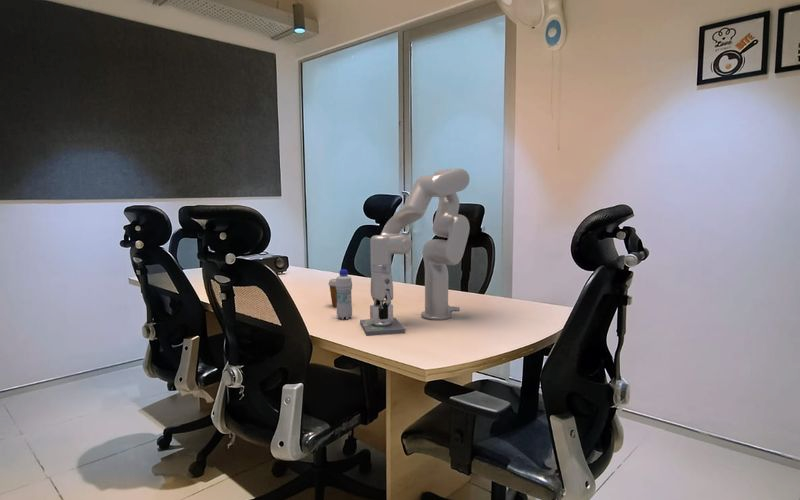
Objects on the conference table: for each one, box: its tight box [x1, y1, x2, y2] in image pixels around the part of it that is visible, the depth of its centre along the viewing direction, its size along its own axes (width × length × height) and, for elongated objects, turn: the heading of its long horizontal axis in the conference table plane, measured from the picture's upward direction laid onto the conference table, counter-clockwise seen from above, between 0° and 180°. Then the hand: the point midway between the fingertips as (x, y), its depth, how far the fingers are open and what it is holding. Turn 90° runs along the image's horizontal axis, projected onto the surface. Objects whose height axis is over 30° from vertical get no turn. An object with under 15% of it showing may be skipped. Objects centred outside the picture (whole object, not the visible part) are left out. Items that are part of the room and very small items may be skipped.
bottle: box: [335, 268, 353, 320], centre depth 194 cm, size 7×7×20 cm
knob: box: [365, 303, 394, 326], centre depth 178 cm, size 7×10×7 cm, turn 111°
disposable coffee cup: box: [328, 278, 337, 309], centre depth 215 cm, size 10×10×12 cm
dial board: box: [359, 317, 406, 336], centre depth 179 cm, size 14×17×2 cm
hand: (381, 317), depth 179 cm, fingers closed on knob, 3 cm apart
